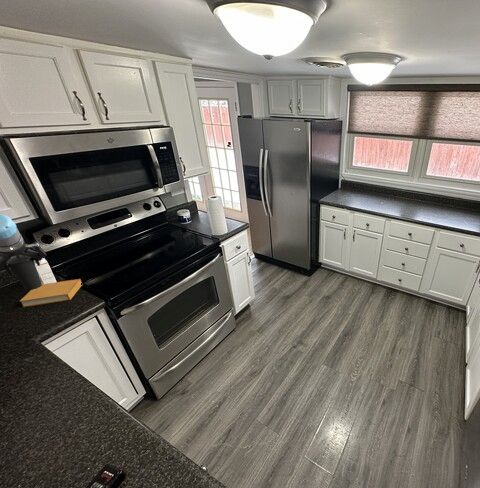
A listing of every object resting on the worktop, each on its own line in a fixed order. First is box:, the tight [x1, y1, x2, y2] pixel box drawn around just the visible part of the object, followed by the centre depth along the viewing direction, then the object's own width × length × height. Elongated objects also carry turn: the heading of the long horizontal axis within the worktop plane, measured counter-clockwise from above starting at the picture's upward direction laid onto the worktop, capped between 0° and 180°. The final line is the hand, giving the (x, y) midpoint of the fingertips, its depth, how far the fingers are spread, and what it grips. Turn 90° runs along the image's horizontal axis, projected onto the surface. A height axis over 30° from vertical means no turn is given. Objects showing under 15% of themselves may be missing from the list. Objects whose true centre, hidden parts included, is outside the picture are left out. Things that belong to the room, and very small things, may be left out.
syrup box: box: [33, 257, 58, 284], centre depth 138 cm, size 6×6×14 cm
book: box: [19, 278, 83, 308], centre depth 133 cm, size 18×14×4 cm
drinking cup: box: [6, 255, 42, 291], centre depth 106 cm, size 8×8×20 cm
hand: (23, 266), depth 109 cm, fingers closed on drinking cup, 8 cm apart
